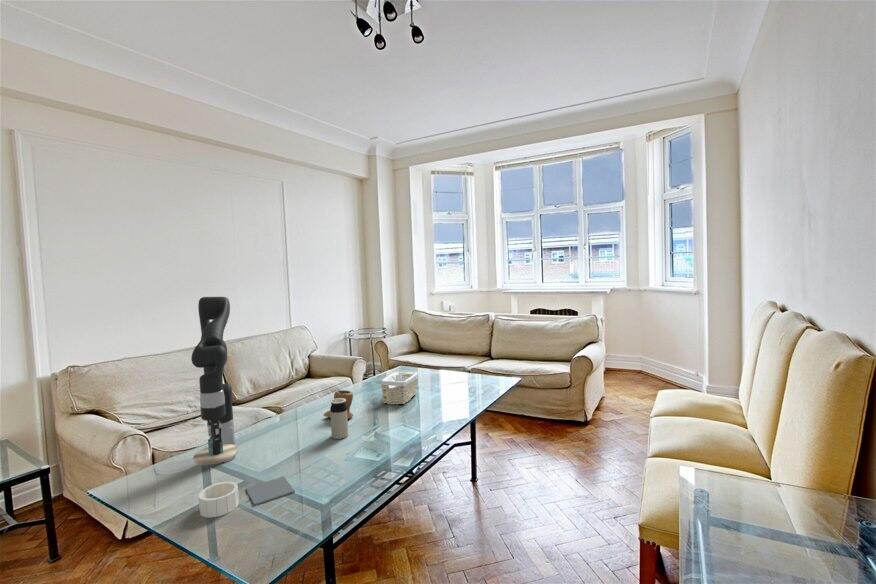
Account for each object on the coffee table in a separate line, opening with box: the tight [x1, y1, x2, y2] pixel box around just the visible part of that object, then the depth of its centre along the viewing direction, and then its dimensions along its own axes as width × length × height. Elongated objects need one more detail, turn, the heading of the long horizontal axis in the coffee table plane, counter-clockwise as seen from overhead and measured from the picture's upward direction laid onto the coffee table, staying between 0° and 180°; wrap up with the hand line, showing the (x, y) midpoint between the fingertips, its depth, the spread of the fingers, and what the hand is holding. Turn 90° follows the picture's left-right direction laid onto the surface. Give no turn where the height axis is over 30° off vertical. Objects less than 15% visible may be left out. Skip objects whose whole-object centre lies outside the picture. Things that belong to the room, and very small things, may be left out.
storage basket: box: [380, 371, 418, 405], centre depth 263 cm, size 24×16×15 cm
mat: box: [245, 476, 296, 507], centre depth 158 cm, size 14×14×1 cm
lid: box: [193, 438, 239, 466], centre depth 147 cm, size 14×14×6 cm
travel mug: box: [329, 398, 349, 440], centre depth 207 cm, size 8×8×18 cm
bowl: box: [197, 481, 240, 519], centre depth 148 cm, size 12×12×6 cm
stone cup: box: [323, 389, 354, 420], centre depth 234 cm, size 15×12×15 cm
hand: (215, 451), depth 147 cm, fingers closed on lid, 4 cm apart
